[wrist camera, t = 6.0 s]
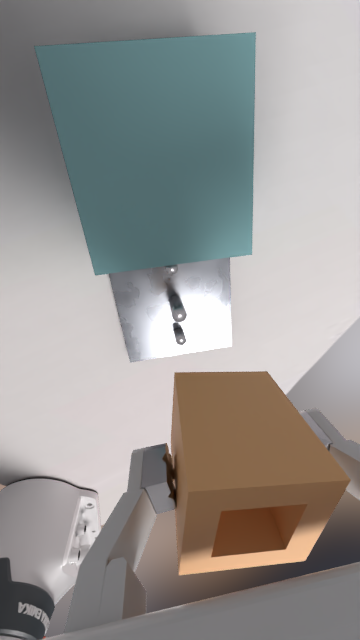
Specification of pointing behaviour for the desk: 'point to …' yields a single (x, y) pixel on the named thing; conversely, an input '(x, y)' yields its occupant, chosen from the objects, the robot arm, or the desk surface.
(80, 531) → the robot arm
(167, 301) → the housing base
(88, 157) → the cover
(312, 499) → the hollow square tube
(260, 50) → the desk surface
